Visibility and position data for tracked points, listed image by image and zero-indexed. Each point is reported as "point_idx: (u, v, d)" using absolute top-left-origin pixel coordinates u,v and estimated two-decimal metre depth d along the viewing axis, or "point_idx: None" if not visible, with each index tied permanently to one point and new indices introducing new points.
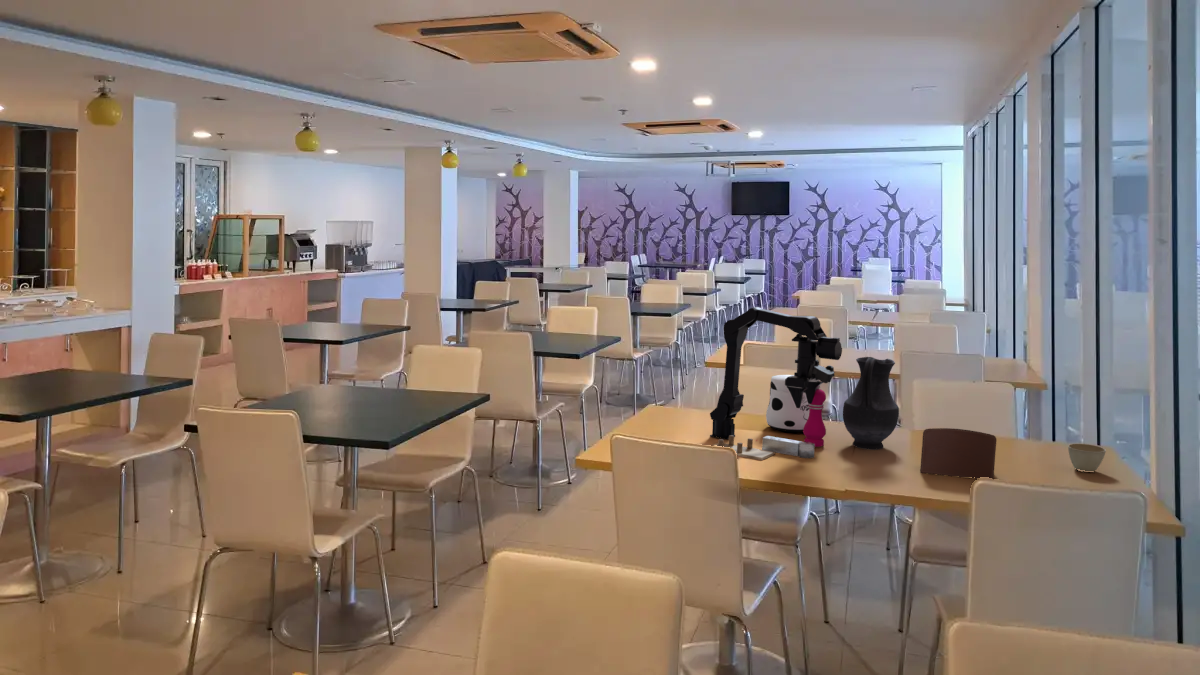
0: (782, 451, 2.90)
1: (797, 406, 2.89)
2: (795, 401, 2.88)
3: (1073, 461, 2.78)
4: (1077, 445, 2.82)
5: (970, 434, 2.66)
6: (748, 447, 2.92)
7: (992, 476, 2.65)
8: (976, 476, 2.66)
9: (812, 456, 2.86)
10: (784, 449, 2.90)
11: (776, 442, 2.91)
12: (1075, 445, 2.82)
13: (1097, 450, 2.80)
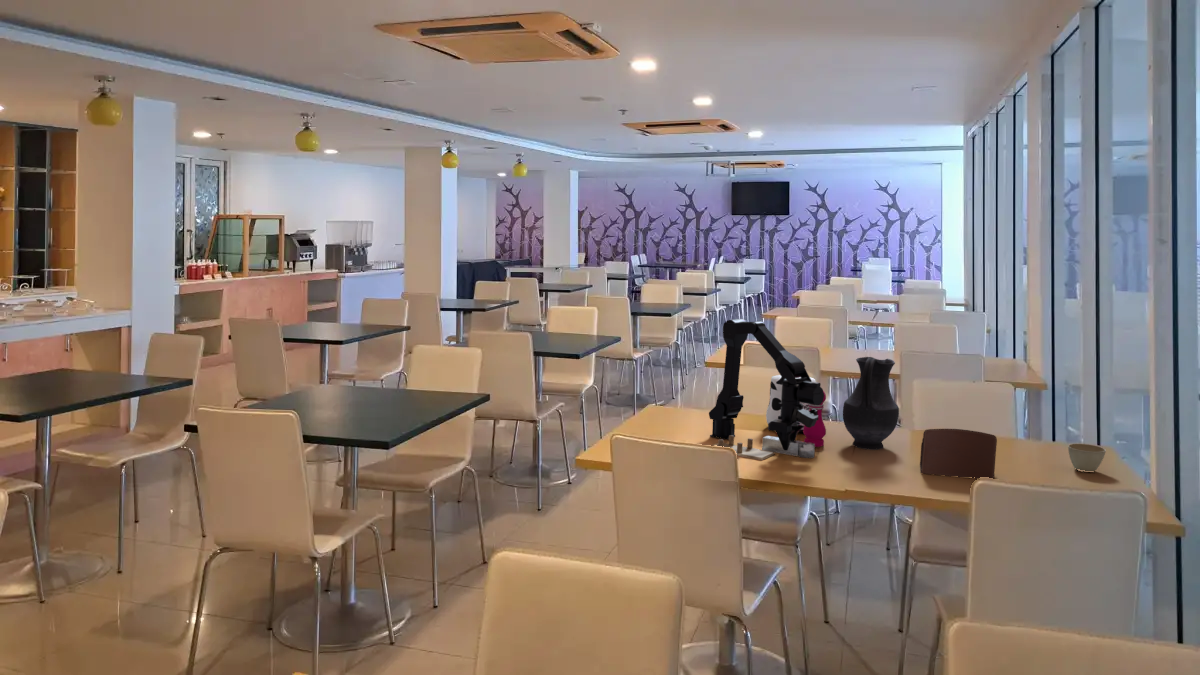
0: (782, 451, 2.90)
1: (784, 448, 2.89)
2: (782, 443, 2.89)
3: (1073, 461, 2.78)
4: (1077, 445, 2.83)
5: (970, 434, 2.66)
6: (748, 447, 2.92)
7: (993, 476, 2.65)
8: (977, 476, 2.66)
9: (812, 456, 2.86)
10: None
11: (776, 442, 2.91)
12: (1075, 445, 2.82)
13: (1097, 450, 2.80)
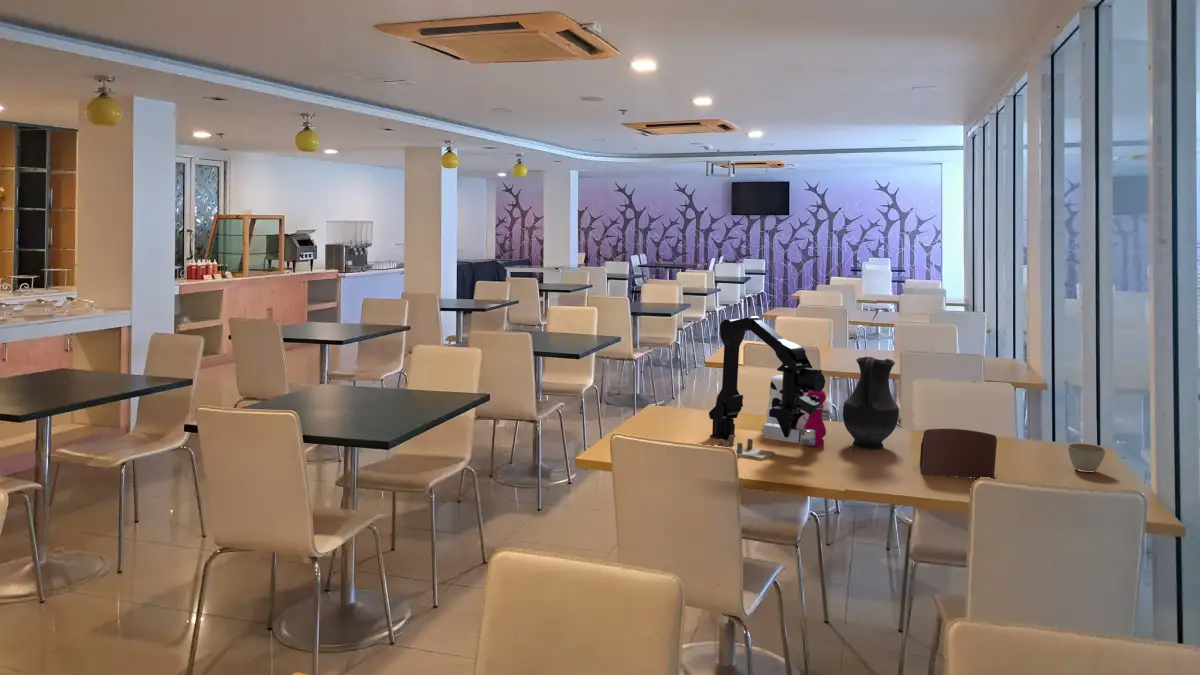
0: (783, 438, 2.90)
1: (785, 435, 2.89)
2: (783, 430, 2.88)
3: (1073, 461, 2.78)
4: (1077, 445, 2.82)
5: (971, 434, 2.66)
6: (748, 447, 2.92)
7: (993, 476, 2.65)
8: (977, 476, 2.66)
9: (812, 443, 2.85)
10: None
11: (777, 429, 2.91)
12: (1075, 445, 2.82)
13: (1097, 450, 2.80)
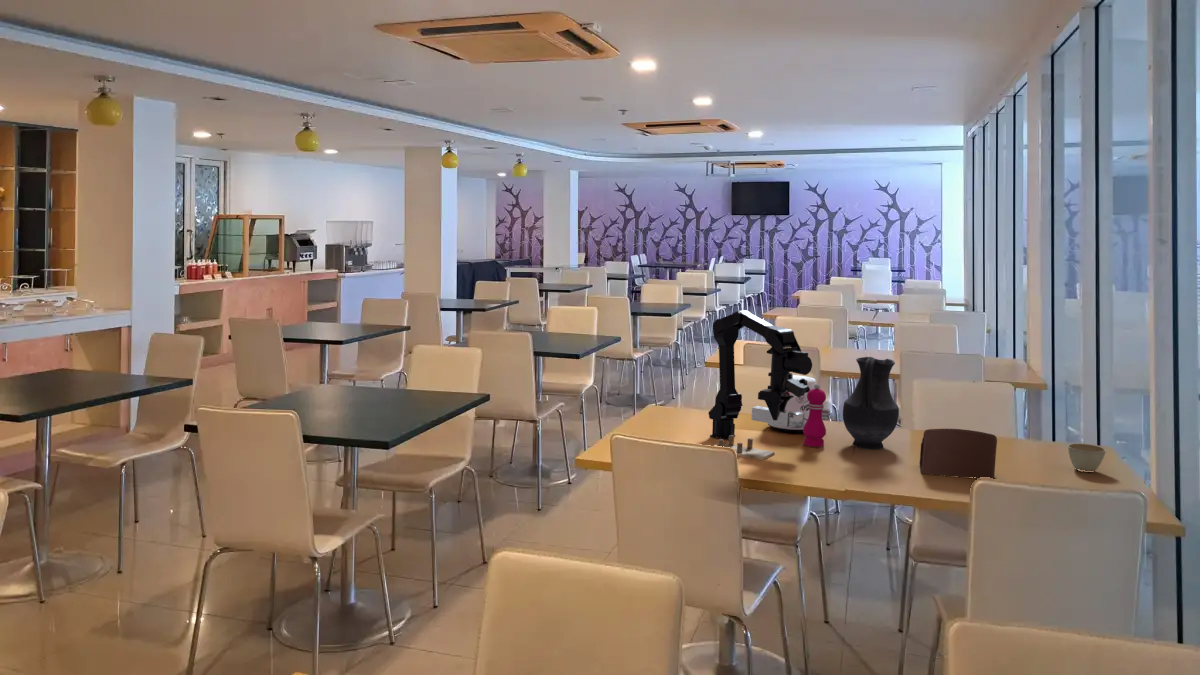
0: (772, 421, 2.89)
1: (774, 418, 2.88)
2: (772, 413, 2.88)
3: (1073, 461, 2.78)
4: (1077, 445, 2.82)
5: (971, 434, 2.66)
6: (748, 447, 2.92)
7: (993, 476, 2.65)
8: (977, 476, 2.67)
9: (801, 426, 2.85)
10: None
11: (766, 412, 2.90)
12: (1075, 445, 2.82)
13: (1097, 450, 2.80)
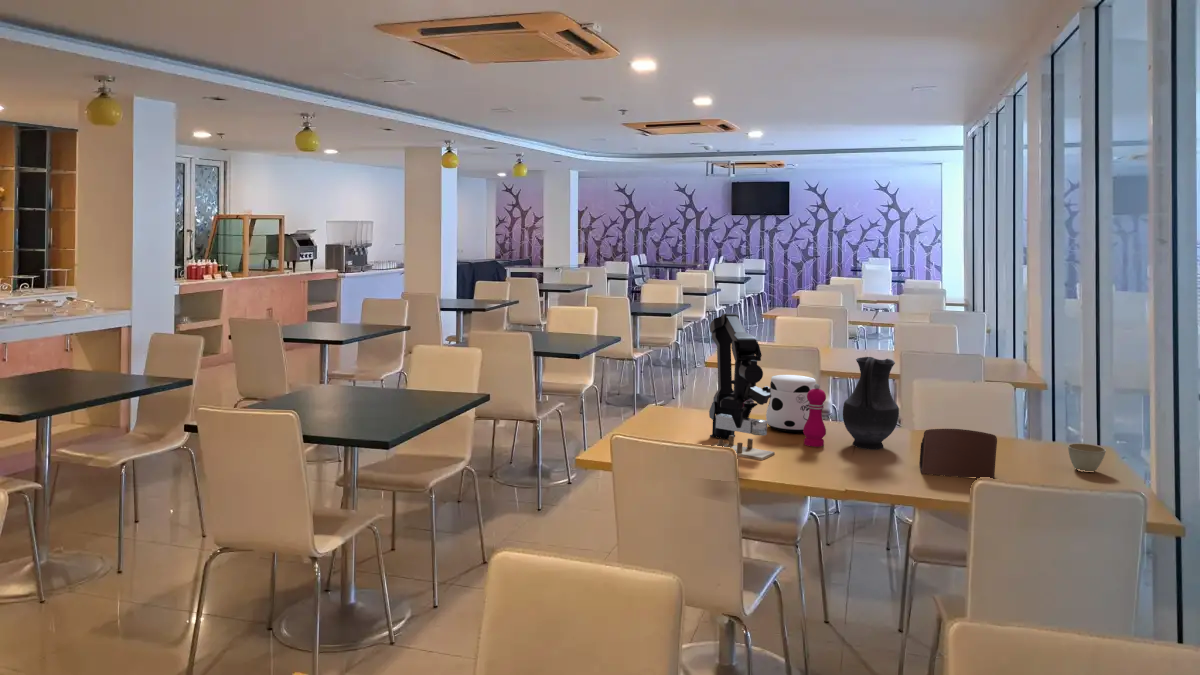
0: (735, 429, 2.89)
1: (737, 426, 2.88)
2: (735, 421, 2.88)
3: (1073, 461, 2.78)
4: (1077, 445, 2.82)
5: (971, 434, 2.66)
6: (748, 447, 2.92)
7: (993, 475, 2.66)
8: (977, 476, 2.67)
9: (764, 433, 2.85)
10: None
11: (730, 420, 2.90)
12: (1075, 445, 2.82)
13: (1097, 450, 2.80)
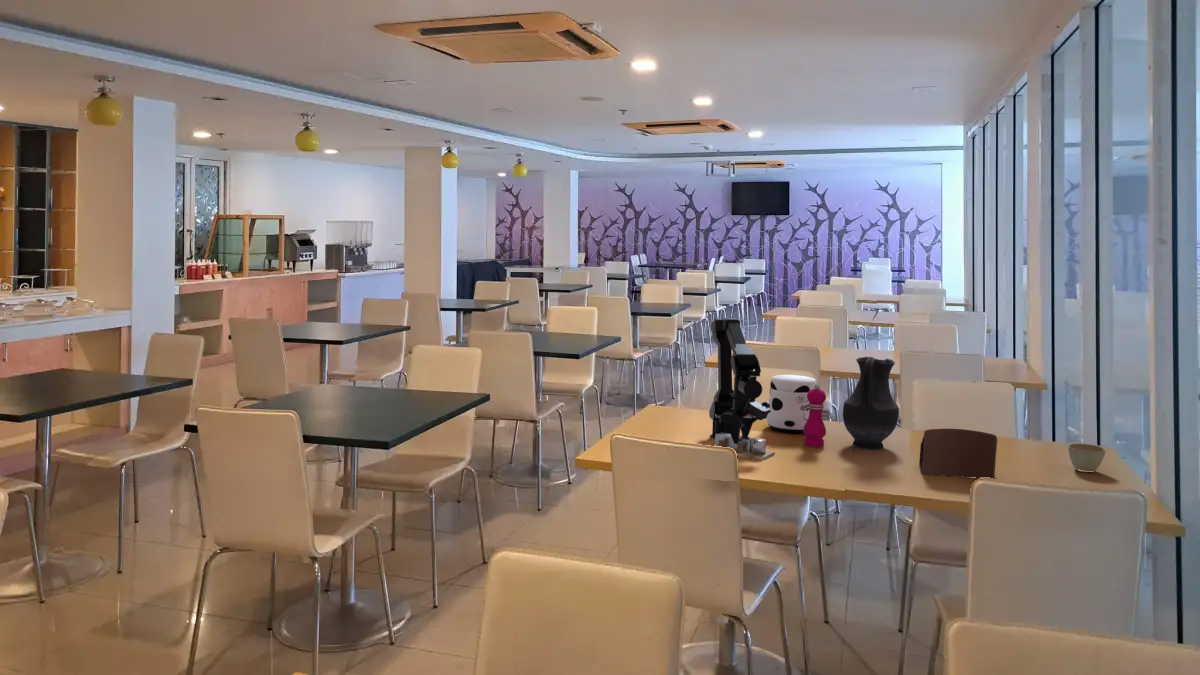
0: (734, 448, 2.90)
1: (735, 442, 2.88)
2: (733, 437, 2.87)
3: (1073, 461, 2.78)
4: (1077, 445, 2.82)
5: (971, 434, 2.66)
6: None
7: (993, 475, 2.66)
8: (977, 476, 2.67)
9: (763, 453, 2.85)
10: (736, 446, 2.89)
11: (729, 439, 2.91)
12: (1075, 445, 2.82)
13: (1097, 450, 2.80)
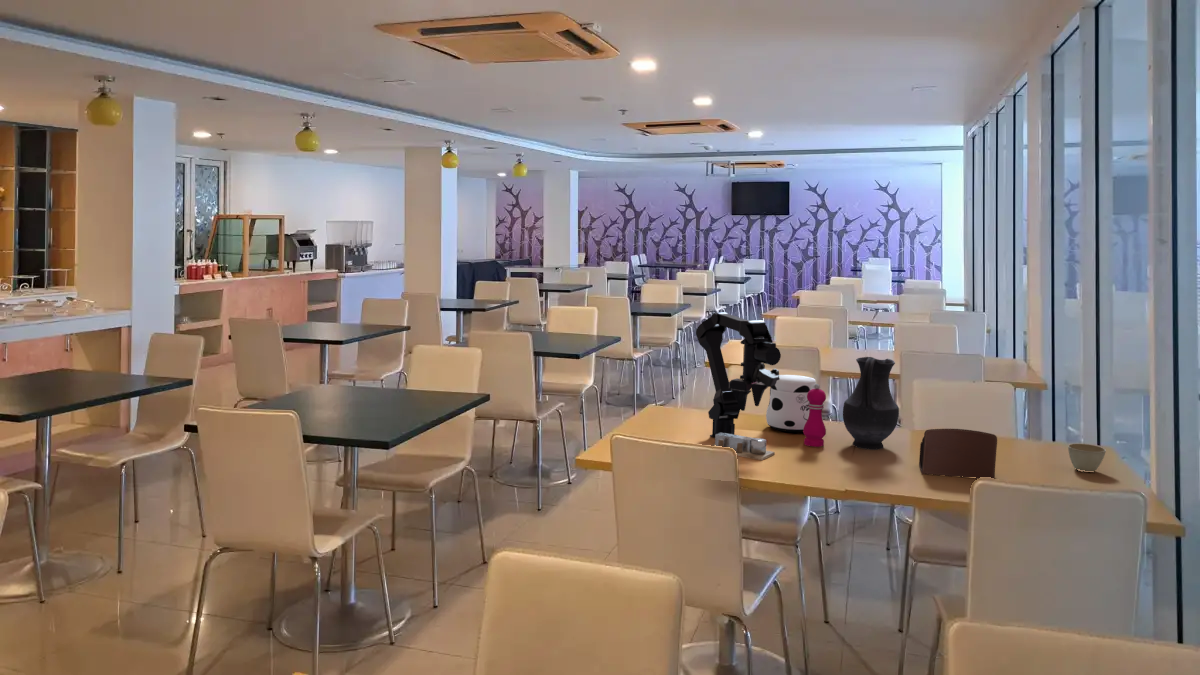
0: (734, 448, 2.90)
1: (741, 409, 2.93)
2: (739, 404, 2.93)
3: (1073, 461, 2.78)
4: (1077, 445, 2.82)
5: (971, 434, 2.66)
6: None
7: (993, 475, 2.66)
8: (977, 476, 2.67)
9: (763, 453, 2.85)
10: (736, 446, 2.89)
11: (729, 439, 2.91)
12: (1075, 445, 2.82)
13: (1097, 450, 2.80)
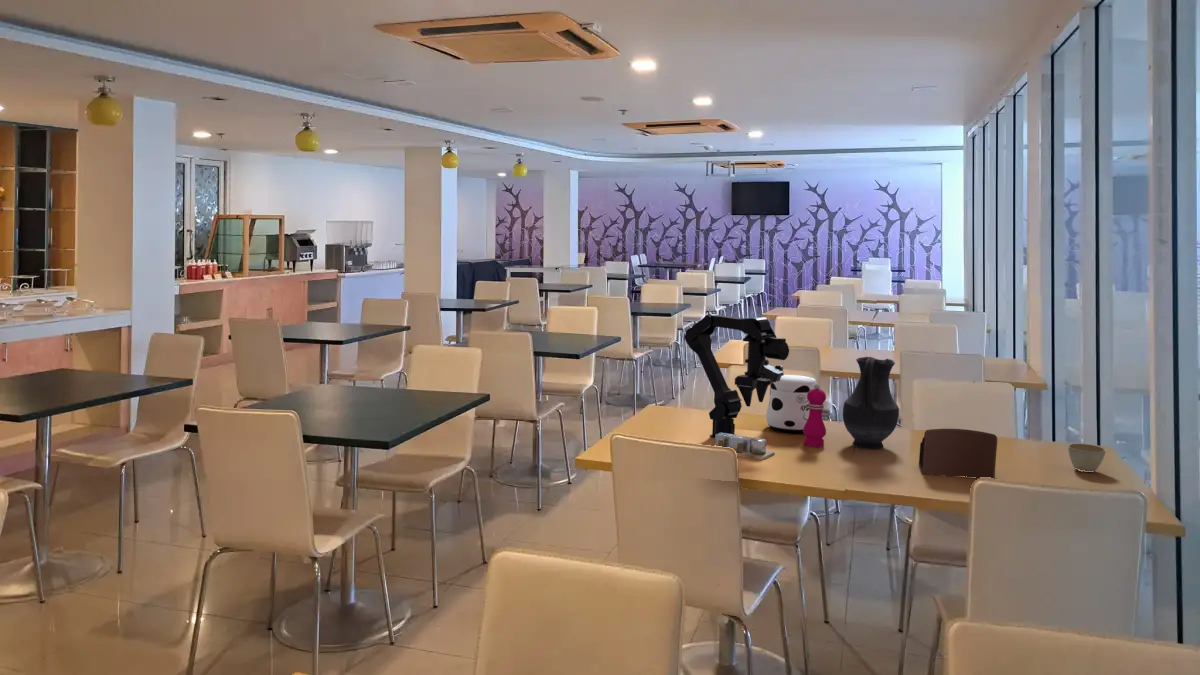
0: (734, 448, 2.90)
1: (747, 404, 2.97)
2: (745, 400, 2.96)
3: (1073, 461, 2.78)
4: (1077, 445, 2.82)
5: (971, 434, 2.66)
6: None
7: (993, 475, 2.66)
8: (977, 475, 2.67)
9: (763, 453, 2.85)
10: (736, 446, 2.89)
11: (729, 439, 2.91)
12: (1075, 445, 2.82)
13: (1097, 450, 2.80)
